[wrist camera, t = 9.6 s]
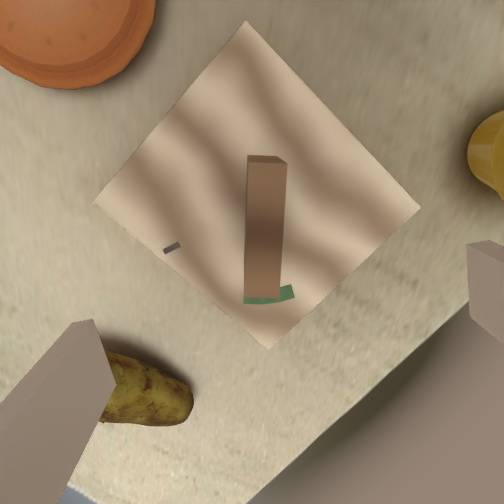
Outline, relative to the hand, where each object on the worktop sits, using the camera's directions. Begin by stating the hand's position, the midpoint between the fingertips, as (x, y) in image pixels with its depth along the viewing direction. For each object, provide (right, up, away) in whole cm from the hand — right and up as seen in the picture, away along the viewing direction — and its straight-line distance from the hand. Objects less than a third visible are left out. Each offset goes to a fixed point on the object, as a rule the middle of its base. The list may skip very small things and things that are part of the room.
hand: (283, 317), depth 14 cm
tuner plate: (-1, +7, +24) cm, 25 cm away
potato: (-13, -10, +29) cm, 33 cm away
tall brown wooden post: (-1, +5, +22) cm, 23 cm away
